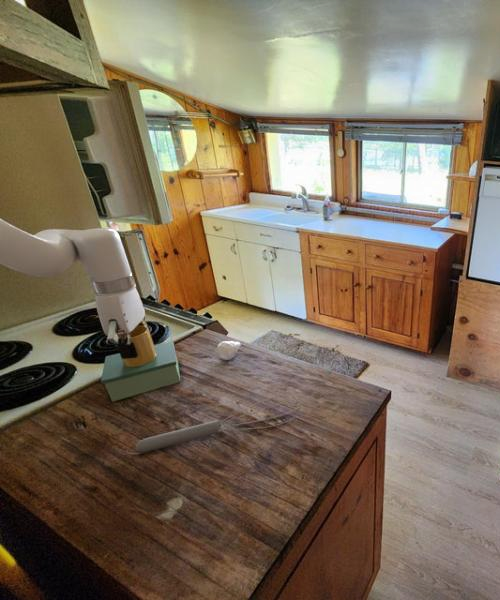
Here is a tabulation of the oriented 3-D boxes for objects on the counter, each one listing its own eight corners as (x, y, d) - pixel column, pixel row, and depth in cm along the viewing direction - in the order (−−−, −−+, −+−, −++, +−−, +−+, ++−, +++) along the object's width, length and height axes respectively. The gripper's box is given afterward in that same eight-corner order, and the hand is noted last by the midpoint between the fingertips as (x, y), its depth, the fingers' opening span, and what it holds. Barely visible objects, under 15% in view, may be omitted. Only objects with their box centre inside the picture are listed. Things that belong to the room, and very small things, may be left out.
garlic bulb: (247, 352, 99) (244, 336, 97) (231, 362, 94) (228, 346, 92) (233, 347, 101) (230, 332, 98) (217, 358, 96) (213, 342, 93)
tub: (110, 403, 78) (100, 381, 75) (114, 377, 86) (105, 356, 83) (182, 382, 85) (175, 361, 83) (178, 360, 94) (173, 340, 91)
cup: (118, 368, 79) (107, 340, 76) (131, 353, 85) (121, 326, 82) (150, 365, 81) (141, 337, 78) (161, 350, 87) (152, 324, 84)
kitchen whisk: (133, 442, 68) (123, 420, 65) (300, 407, 79) (298, 387, 76) (122, 467, 63) (111, 444, 60) (302, 426, 74) (300, 404, 71)
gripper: (113, 271, 81) (135, 333, 88) (69, 300, 66) (100, 371, 73) (148, 270, 83) (166, 330, 90) (113, 298, 68) (139, 367, 75)
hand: (137, 348), depth 82 cm, fingers closed on cup, 6 cm apart
